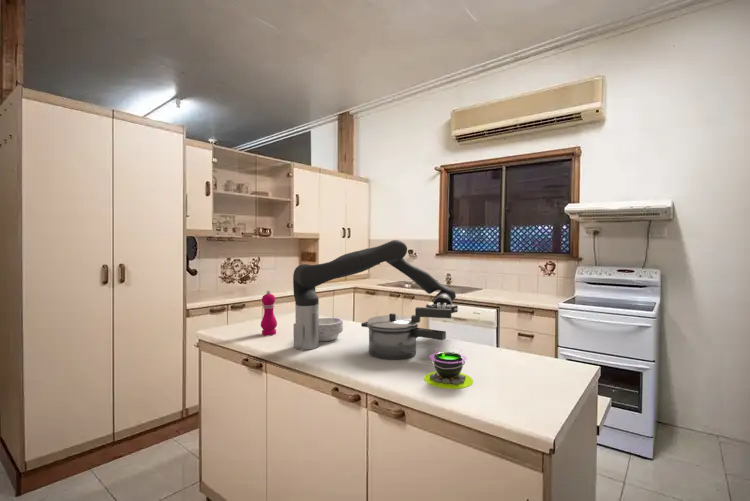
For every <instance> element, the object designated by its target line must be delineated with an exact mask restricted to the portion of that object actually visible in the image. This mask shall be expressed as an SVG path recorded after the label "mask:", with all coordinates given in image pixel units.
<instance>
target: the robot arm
mask: <svg viewBox="0 0 750 501" xmlns="http://www.w3.org/2000/svg"><path fill="white" fill-rule="evenodd" d="M407 251H408V246H407V245H406V243H405V242H403V241H402V240H399V239H393V240H391V241H387V242H385V243H383V244H380V245H377V246H374V247H369V248H364V249H360V250H357V251H356V250H355V251H353V252H348V253H345V254H342V255H341V256H339V257H337V258H335V259H333V260H331V261H328V262H324V263H318V264H307V263H302V264H299V265H297V266H296V267H295V268H294V271H293V275H292V283H293V285H292V286H293V288H292V289H293V297H294V298H293V299H294V300H295V303H294V304H295V308H294V309H295V323H293V348H295V349H297V350H301V351H304V350H313V349H317V348H319V347H320V341H319V318H320V317H319V313H320V312H319V308H320V307H319V304H320V303H319V300H320V299H319V296H318V294H317V291H316V290H317V289H316V287H318V286H320V285H322V284H326V283H327V282H329V281H332V280H337V279H340V278H346V277H349V276H353V275H356V274H359V273H360V274H361V273H362V272H365V271H367V270H370V269H372V268H373V267H375V266H377V265H380V264H382V263H384V262H386V263H387V264H388V265H390V266H392V267H394V268H395V269H396V270H398V271H399V272H400V273H403V275H405V276H406V277H408V278H409V279H410V280H412V281H413V282H415V283H416V284H417V285H418V286H419V287H420V288H421V289H422V290H423V291H424V292H425V293H427V294H429V295H431V294H433V293H434V292H436V291H439V292H438V293H437V294H436V295H435V296H434V297H433V298H432V302H433V303H432V304H426V305H425V308H447V309H451V314H454V313H458V311H459V306H458V305H457V304H455V305H453V301H454V300H455V299H456V297H457V295H456V291H454V290H453V289H452V288H450V287H449V286H447V285H445V284H443V283H441V282H439V280H436V278H434V277H433V276H432V275H431V274H429V272H428V271H426V270H424V269H423V268H420V267H418V266H416V265H414V264H412V263H410V262H409V261H407V260H406V259H405V258H404V257H405V256H406V255H407V253H408V252H407Z"/></svg>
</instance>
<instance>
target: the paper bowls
mask: <svg viewBox="0 0 750 501" xmlns="http://www.w3.org/2000/svg"><path fill="white" fill-rule="evenodd" d="M343 322H344V321H343V319H341V318H339V317H319V342H328V341H329V342H330V341H333V340H337V338H338V337H339V335H340V334H341V333H342V332H343V331H344V328H343V327H344V326H343V325H344V323H343Z"/></svg>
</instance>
